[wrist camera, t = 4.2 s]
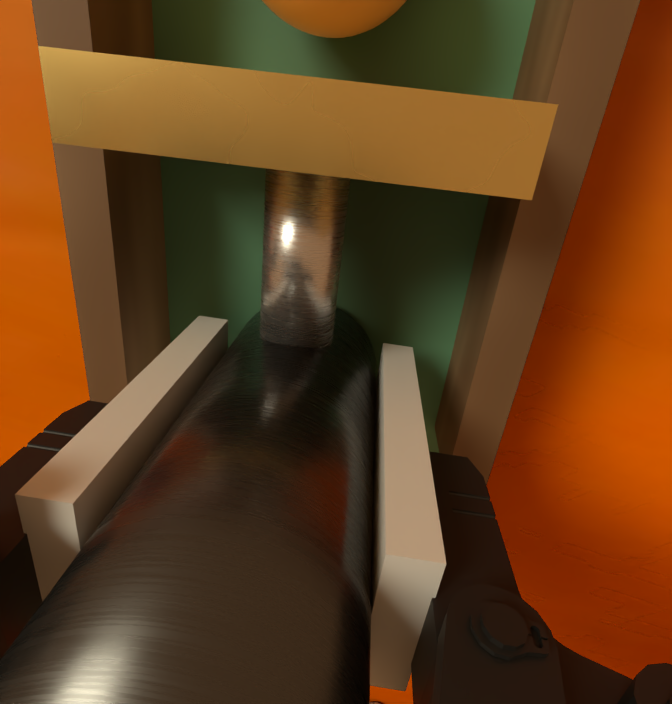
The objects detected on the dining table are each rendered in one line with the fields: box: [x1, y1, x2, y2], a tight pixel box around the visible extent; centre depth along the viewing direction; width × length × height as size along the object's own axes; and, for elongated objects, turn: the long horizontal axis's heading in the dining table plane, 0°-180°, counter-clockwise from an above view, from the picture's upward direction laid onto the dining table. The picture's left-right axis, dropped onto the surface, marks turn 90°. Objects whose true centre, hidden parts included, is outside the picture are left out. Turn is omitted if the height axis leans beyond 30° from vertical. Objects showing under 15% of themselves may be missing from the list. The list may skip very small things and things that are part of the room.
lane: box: [32, 0, 640, 485], centre depth 9 cm, size 10×30×5 cm, turn 174°
